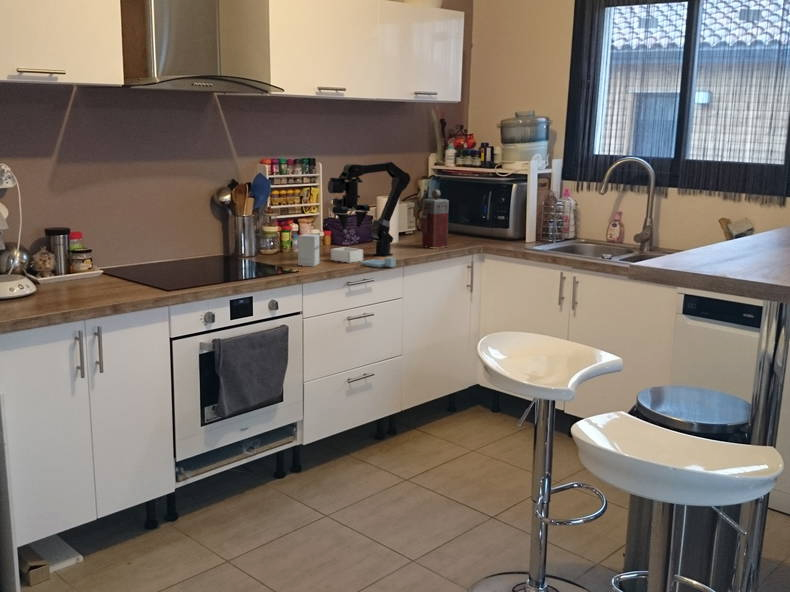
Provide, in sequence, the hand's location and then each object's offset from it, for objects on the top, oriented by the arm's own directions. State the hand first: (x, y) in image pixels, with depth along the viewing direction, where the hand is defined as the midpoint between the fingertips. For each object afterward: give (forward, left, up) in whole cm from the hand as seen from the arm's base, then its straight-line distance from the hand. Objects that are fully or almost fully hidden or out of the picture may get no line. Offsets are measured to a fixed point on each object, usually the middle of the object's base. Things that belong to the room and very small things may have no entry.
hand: (351, 228), depth 354 cm
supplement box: (+27, +1, -13) cm, 30 cm away
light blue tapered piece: (+8, +24, -13) cm, 29 cm away
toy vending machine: (-51, +7, -13) cm, 53 cm away
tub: (+8, +5, -13) cm, 16 cm away
